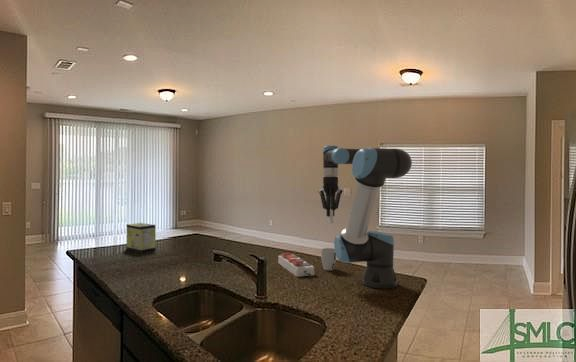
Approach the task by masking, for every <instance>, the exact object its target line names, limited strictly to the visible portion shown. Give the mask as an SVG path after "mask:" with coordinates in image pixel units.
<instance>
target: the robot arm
mask: <svg viewBox="0 0 576 362" xmlns="http://www.w3.org/2000/svg"><path fill="white" fill-rule="evenodd" d="M322 159H323V161H322V163H323V164H322V167H323V169H322V170H323V171H322V174H323V175H322V176H323V177H322V183H323V185H322V189H319V190H318V194H319V195H320V200H321V204H322V208H323V209H324V210H326V217H327V223H328V224H334V217H335V211H336V210H338V209H339V205H340V201H341V200H340V199H341V196H342V193H343V192H344V191H343V190H342V189H340V188H339V177H338V176H339V165H351V167H352V168H351V172H352V175H353V176H354V179H355V181H356V182H357V184H356V187H355V193H354V196H353V200H352V202H351V203H352V204H351V208H350V212H349V217H348V220H347V224H346V227H345V228H343V229H342V230H341V234H340V235H336V236H335V237H334V241H333V246H334V249H335V253H336V259H337V260H338V261H339V263H345V264H351V263H363V262H366V267H365V269H364V272H363V276H362V279H361V280H362V282H361V283H362V285H364V286H366V287H369V288H374V289H384V290H385V289H393V288H396V287H397V286H398V279H397V276H396V272H395V269H394V255H395V254H394V251H395V249H394V248H395V247H394V246H395V240H394V239H395V238H394V236H393V235H392V234H390V233H387V232H381V231H377V230H368V228H369V224H370V221H371V217H372V214H373V211H374V207H375V203H376V200H377V196H378V192H379V189H380V188H382V187H384V185H385V182H386V179H398V178H403V177H404V176H405V175H406V174H408V173H409V172H410V170H411V168H412V164H413V163H412V162H413V161H412V158H411V156H410V155H409V153H408V152H407V151H405V150H403V149H400V148H382V147H381V148H379V147H364V148H343V147H339V146H337V145H325V146H324V147H323V151H322Z"/></svg>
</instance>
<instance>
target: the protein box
mask: <svg viewBox="0 0 576 362" xmlns="http://www.w3.org/2000/svg"><path fill="white" fill-rule="evenodd" d="M156 240H157V239H156V224H151V223H144V222H138V223H137V222H136V223H128V224H126V250H128V251H133V252H135V253H145V252H151V251H155V250H156V248H157V247H156V246H157V245H156V243H157V242H156Z"/></svg>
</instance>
